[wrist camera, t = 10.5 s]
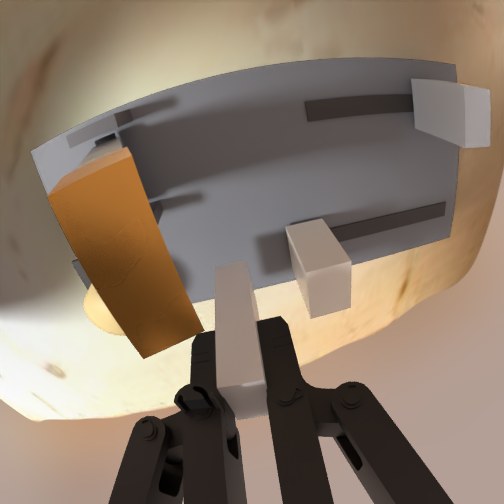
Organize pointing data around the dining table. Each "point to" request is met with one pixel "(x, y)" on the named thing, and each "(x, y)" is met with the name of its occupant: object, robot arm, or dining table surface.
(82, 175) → the lever
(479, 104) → the grey slider
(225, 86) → the panel
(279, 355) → the robot arm
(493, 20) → the dining table surface
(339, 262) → the cream slider
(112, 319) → the button
